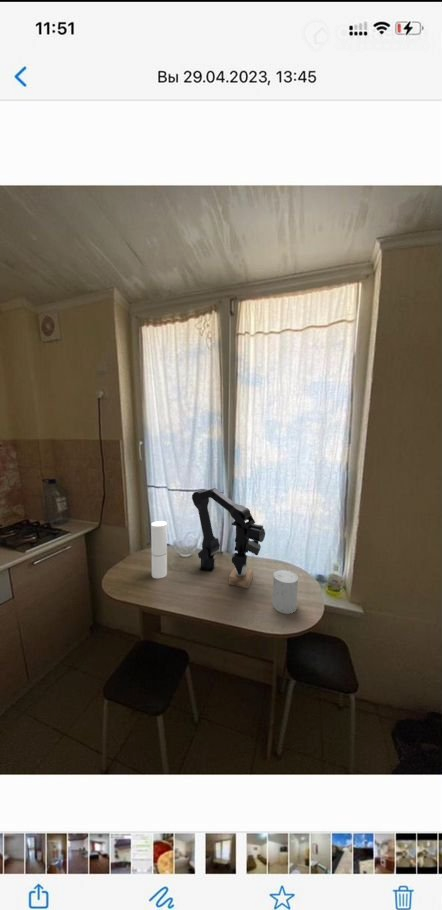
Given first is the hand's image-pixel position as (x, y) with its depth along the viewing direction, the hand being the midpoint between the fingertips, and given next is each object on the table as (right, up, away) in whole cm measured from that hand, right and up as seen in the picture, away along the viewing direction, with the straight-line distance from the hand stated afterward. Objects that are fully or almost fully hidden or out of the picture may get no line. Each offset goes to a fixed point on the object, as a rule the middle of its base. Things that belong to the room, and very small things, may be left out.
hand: (241, 568), depth 114 cm
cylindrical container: (-39, -5, +5) cm, 40 cm away
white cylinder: (+16, -8, -15) cm, 23 cm away
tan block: (0, -6, +1) cm, 7 cm away
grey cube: (0, -2, 0) cm, 2 cm away
